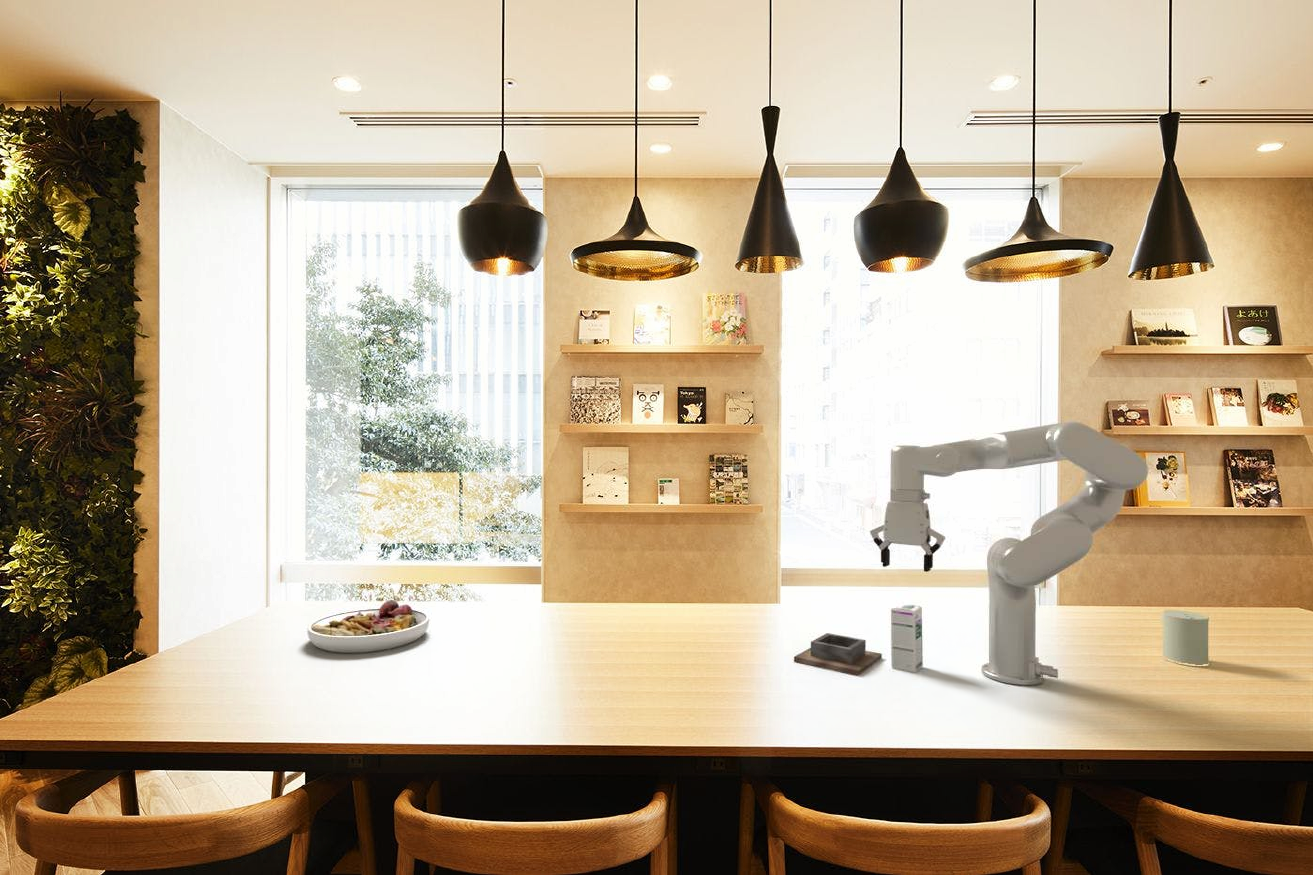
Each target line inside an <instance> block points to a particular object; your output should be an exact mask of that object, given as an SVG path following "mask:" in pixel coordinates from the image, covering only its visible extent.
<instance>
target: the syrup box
mask: <svg viewBox="0 0 1313 875" xmlns="http://www.w3.org/2000/svg"><path fill="white" fill-rule="evenodd" d="M922 609H923V608H922V607H921V606H919V605H914V604H907V603H906V604H905V603H898V604H897V605H895V606H893V607H892V608H890V633H891V634H890V641H891V642H890V645H891V646H890V648H891V649H890V651H891V652H890V653H891V655H890V656H891V668H892V669H895V670H899V671H905V672H908V673H909V672H910V673H914V674H915V673H917V672H918V671H919V670H920V669H921V668H923V664H924V663H923V662H924V661H923V658H924V657H923V610H922Z"/></svg>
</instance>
